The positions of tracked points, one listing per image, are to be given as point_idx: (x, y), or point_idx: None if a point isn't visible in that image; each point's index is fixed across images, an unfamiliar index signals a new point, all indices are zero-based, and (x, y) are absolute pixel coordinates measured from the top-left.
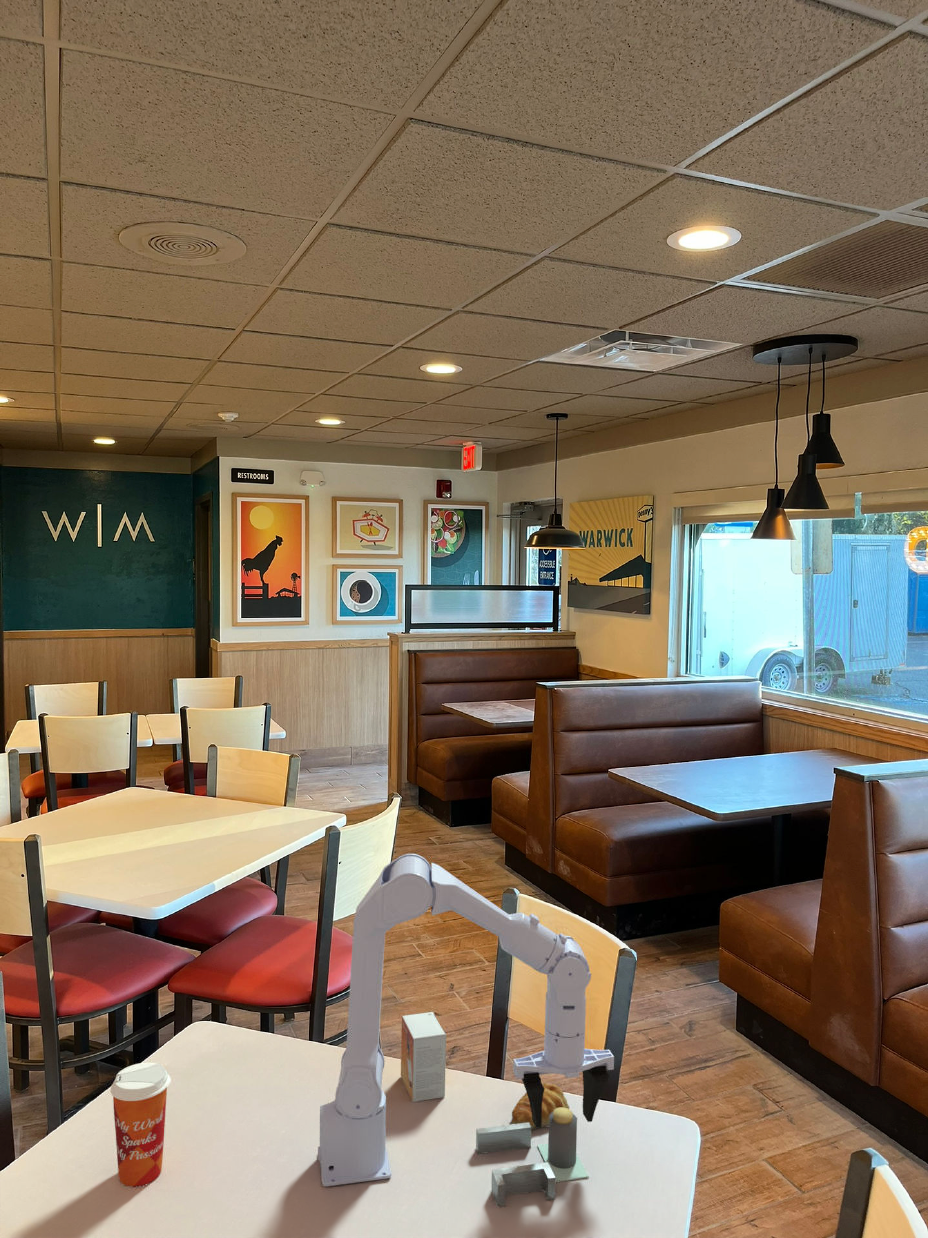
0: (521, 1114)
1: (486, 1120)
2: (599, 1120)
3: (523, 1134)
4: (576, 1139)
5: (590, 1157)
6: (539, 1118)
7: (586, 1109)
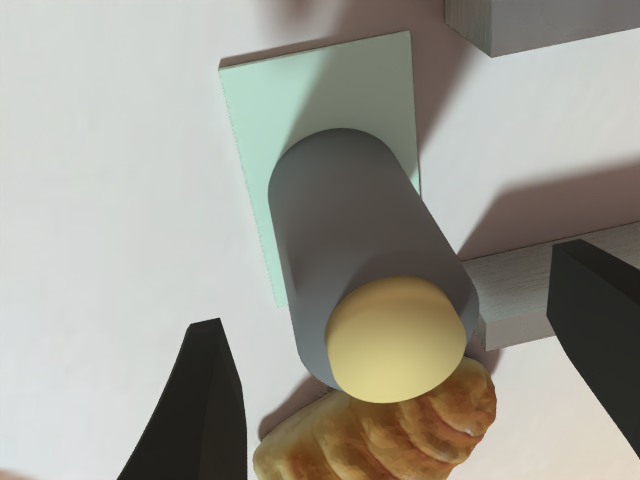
0: (476, 404)
1: (566, 383)
2: (127, 428)
3: (510, 295)
4: (282, 246)
5: (190, 219)
6: (616, 273)
7: (229, 396)
